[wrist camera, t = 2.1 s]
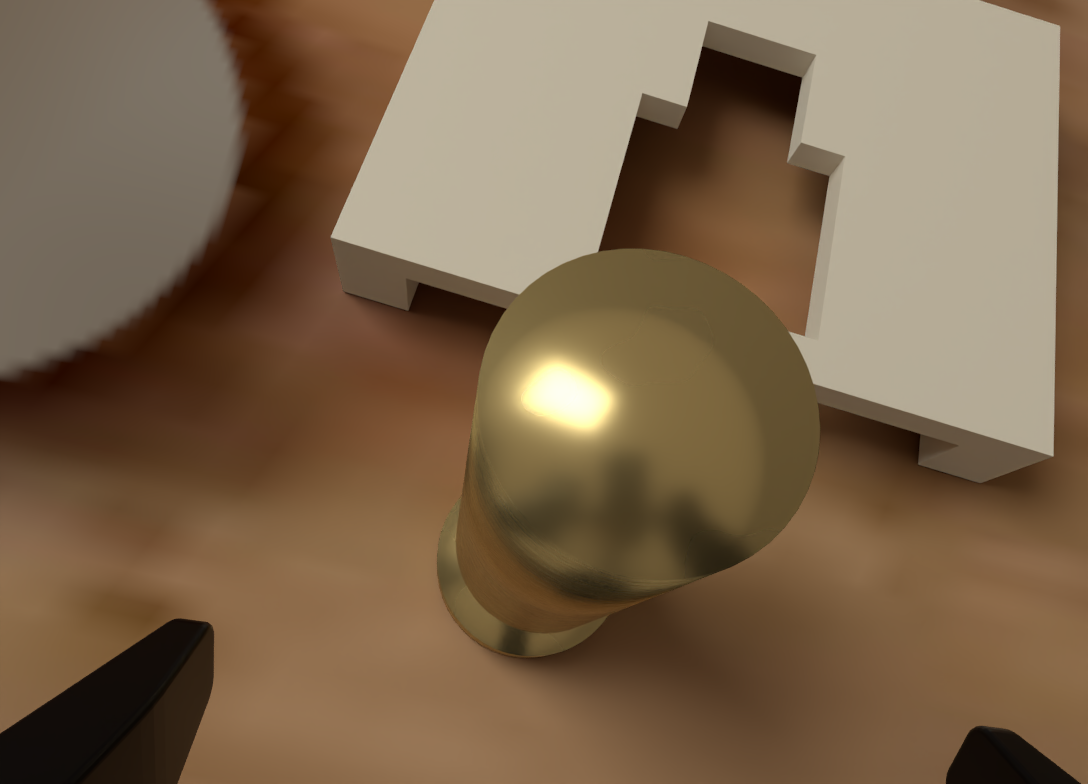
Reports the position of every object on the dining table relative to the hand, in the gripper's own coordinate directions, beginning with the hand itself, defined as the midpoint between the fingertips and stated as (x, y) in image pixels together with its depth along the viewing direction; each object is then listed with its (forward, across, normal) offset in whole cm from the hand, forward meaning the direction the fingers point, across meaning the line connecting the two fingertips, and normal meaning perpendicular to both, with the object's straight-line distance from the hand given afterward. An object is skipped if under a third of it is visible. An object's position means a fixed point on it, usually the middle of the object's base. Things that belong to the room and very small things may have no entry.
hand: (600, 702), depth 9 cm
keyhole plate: (+19, -4, -3) cm, 20 cm away
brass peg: (+10, 0, +6) cm, 12 cm away
